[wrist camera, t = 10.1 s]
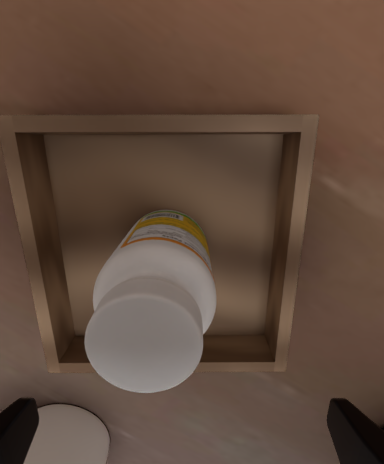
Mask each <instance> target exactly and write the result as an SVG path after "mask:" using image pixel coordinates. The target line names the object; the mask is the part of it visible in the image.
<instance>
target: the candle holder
mask: <svg viewBox="0 0 384 464" xmlns="http://www.w3.org/2000/svg"><path fill="white" fill-rule="evenodd" d="M38 414H39V425H38V428H37V430H36V433H35V435H34V438H33V441H32V443H31V446H30V448H29V451H28V453H27V456H26V458H25V461H24V464H106V463H107V458H108V453H109V446H110V438H109V433H108V431H107V428H106V427H105V425H104V424H103V422H102V421H101V420H100V419H99V418H98V417H96V416H95V415H94V414H92V413H91V412H89V411H87V410H85V409H82V408H80V407H76V406H72V405H66V404H52V405H47V406H43V407H40V408H38Z"/></svg>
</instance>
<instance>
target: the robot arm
mask: <svg viewBox="0 0 384 464" xmlns="http://www.w3.org/2000/svg"><path fill="white" fill-rule="evenodd" d="M38 425H39V414H38V409H37V405H36V401H35V399H34V398H20V399H18V400H16V401H15V402H14V403H12V404H11V405H10V406H9V407H7V408H6V409H5V410H4V411H2V412H1V413H0V464H24V461H25V458H26V456H27V453H28V451H29V448H30V446H31V443H32V441H33V438H34V435H35V433H36V430H37V428H38ZM327 425H328V428H329V431H330V434H331V437H332V440H333V443H334V446H335V449H336V452H337V455H338V458H339V461H340V464H384V428H382V429H381V428H380V427H379V426H377V425H376V424H375V423H374V422H373V421H372V420H370V419H369V418H368V417H367V416H366V415H365V414H363V413H362V412H361V411H360V410H359V409H358V408H356V407H355V406H354V405H353V404H352V403H351V402H349V401H348V400H347V399H344V398H332V399H331V400H330V404H329V409H328V414H327Z"/></svg>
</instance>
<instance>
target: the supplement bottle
mask: <svg viewBox="0 0 384 464" xmlns="http://www.w3.org/2000/svg"><path fill="white" fill-rule="evenodd" d="M93 307H94V314H93V315H92V317H91V319H90V321H89V323H88V325H87V328H86V332H85V341H84V344H85V350H86V354H87V357H88V359H89V361H90V363H91V365H92V367H93V368H94V369H95V370H96V372H97V373H98V374H99V375H100V376H101V377H102V378H104V379H105V380H106V381H108V382H109V383H111V384H113V385H115V386H117V387H119V388H121V389H124V390H128V391H132V392H139V393H153V392H159V391H164V390H167V389H170V388H172V387H175V386H177V385H178V384H180V383H182V382H183V381H185V380H186V379H187V378H188V377H189V376H190V375H191V374H192V373H193V372H194V370H195V369H196V367H197V366H198V364H199V362H200V359H201V356H202V351H203V334H204V333H205V332H206V331H207V329H208V328H209V326H210V324H211V322H212V320H213V317H214V314H215V310H216V288H215V282H214V277H213V272H212V267H211V261H210V256H209V250H208V244H207V240H206V237H205V235H204V232H203V231H202V229H201V227H200V226H199V225H198V224H197V222H196V221H194V220H193V219H192V218H191V217H189V216H188V215H186V214H184V213H181V212H178V211H174V210H158V211H154V212H151V213H149V214H147V215H145V216H143V217H142V218H141V219H139V220H138V221H137V222H136V223H135V225H134V226H133V227H132V228H131V230H130V231H129V232H128V234H127V235H126V236H125V238H124V239H123V240H122V242H121V243H120V244H119V246H118V247H117V248H116V250H115V251H114V252H113V254H112V255H111V256H110V257H109V259H108V260H107V261H106V263H105V264H104V266H103V267H102V269H101V271H100V273H99V274H98V277H97V279H96V282H95V285H94V291H93Z"/></svg>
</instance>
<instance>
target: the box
mask: <svg viewBox="0 0 384 464" xmlns="http://www.w3.org/2000/svg"><path fill="white" fill-rule="evenodd" d="M318 122H319V115H0V141H1V146H2V151H3V155H4V160H5V165H6V170H7V175H8V180H9V184H10V189H11V194H12V199H13V204H14V209H15V213H16V218H17V223H18V228H19V233H20V238H21V242H22V247H23V252H24V257H25V262H26V267H27V271H28V276H29V281H30V286H31V291H32V296H33V300H34V305H35V310H36V315H37V320H38V325H39V329H40V334H41V339H42V344H43V349H44V354H45V358H46V363H47V368H48V373H97V372H96V370H95V369H94V368H93V367H92V365H91V363H90V361H89V359H88V357H87V354H86V350H85V344H84V341H85V332H86V328H87V325H88V323H89V321H90V319H91V317H92V315H93V314H94V307H93V291H94V285H95V282H96V279H97V277H98V274H99V273H100V271H101V269H102V267H103V266H104V264H105V263H106V261H107V260H108V259H109V257H110V256H111V255H112V254H113V252H114V251H115V250H116V248H117V247H118V246H119V244H120V243H121V242H122V240H123V239H124V238H125V236H126V235H127V234H128V232H129V231H130V230H131V228H132V227H133V226H134V225H135V223H136V222H137V221H138V220H139V219H141V218H142V217H143V216H145V215H147V214H149V213H151V212H154V211H158V210H174V211H178V212H181V213H184V214H186V215H188V216H189V217H191V218H192V219H193V220H194V221H196V222H197V224H198V225H199V226H200V227H201V229H202V231H203V232H204V235H205V237H206V240H207V244H208V250H209V256H210V261H211V267H212V272H213V277H214V282H215V288H216V310H215V314H214V317H213V320H212V322H211V324H210V326H209V328H208V329H207V331H206V332H205V333H204V334H203V351H202V356H201V359H200V362H199V364H198V366H197V367H196V369H195V370H194V372H286V365H287V357H288V350H289V342H290V335H291V327H292V319H293V312H294V304H295V297H296V289H297V281H298V274H299V266H300V259H301V251H302V243H303V236H304V228H305V221H306V213H307V205H308V198H309V190H310V183H311V175H312V167H313V160H314V152H315V145H316V137H317V129H318Z"/></svg>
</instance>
